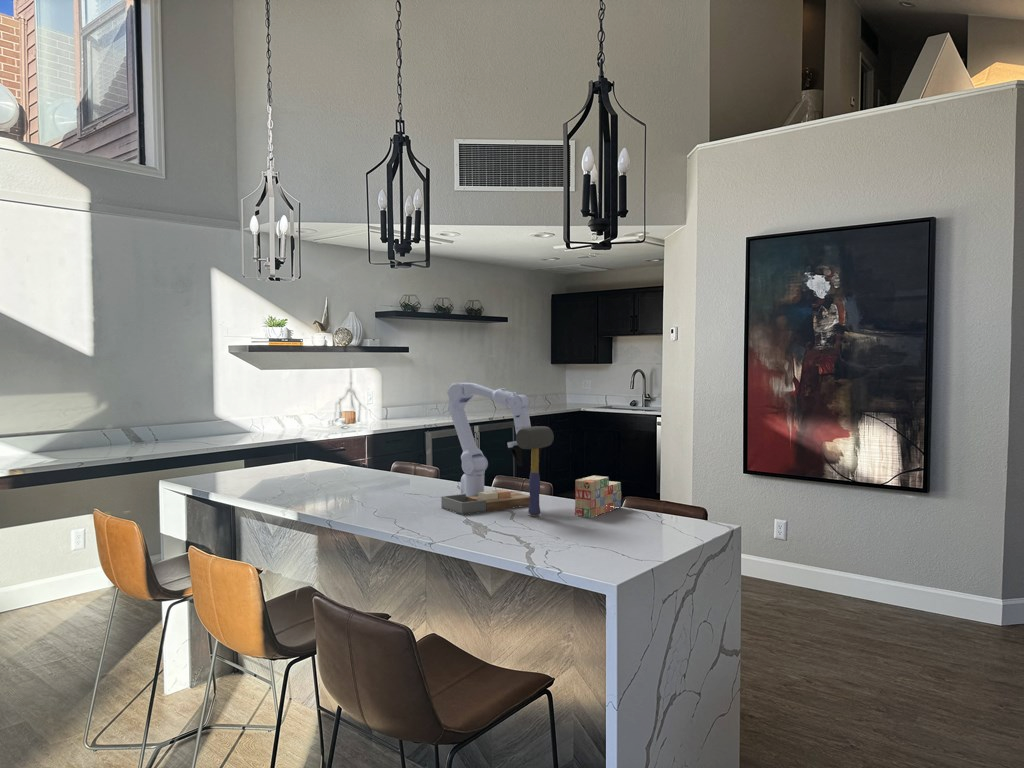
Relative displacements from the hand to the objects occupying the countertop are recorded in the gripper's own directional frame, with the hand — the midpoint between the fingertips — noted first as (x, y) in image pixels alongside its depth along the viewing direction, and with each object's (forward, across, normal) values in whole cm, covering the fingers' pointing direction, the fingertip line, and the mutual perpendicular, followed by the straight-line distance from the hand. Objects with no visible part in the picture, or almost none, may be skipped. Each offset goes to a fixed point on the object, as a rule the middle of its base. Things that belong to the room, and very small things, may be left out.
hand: (529, 464), depth 256 cm
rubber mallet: (+16, -12, -15) cm, 25 cm away
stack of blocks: (+20, +11, -21) cm, 31 cm away
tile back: (+10, -10, +6) cm, 15 cm away
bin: (+11, -26, +6) cm, 29 cm away
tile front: (+9, -16, +6) cm, 19 cm away
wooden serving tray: (+12, -11, +6) cm, 18 cm away
